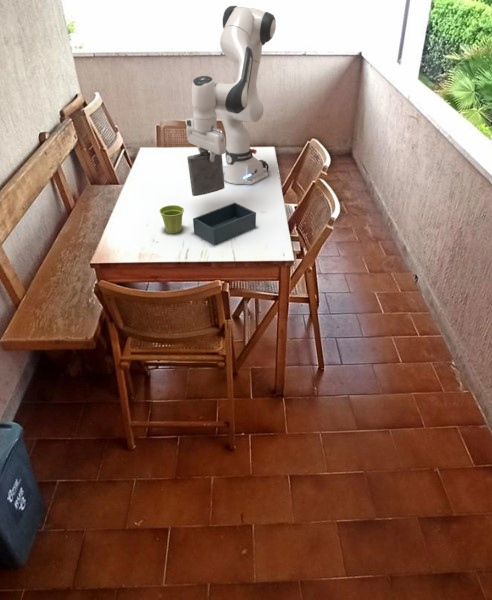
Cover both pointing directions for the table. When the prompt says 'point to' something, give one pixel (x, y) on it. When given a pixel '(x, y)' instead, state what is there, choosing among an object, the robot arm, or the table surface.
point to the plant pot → (172, 218)
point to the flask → (205, 173)
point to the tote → (224, 223)
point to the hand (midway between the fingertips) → (207, 159)
